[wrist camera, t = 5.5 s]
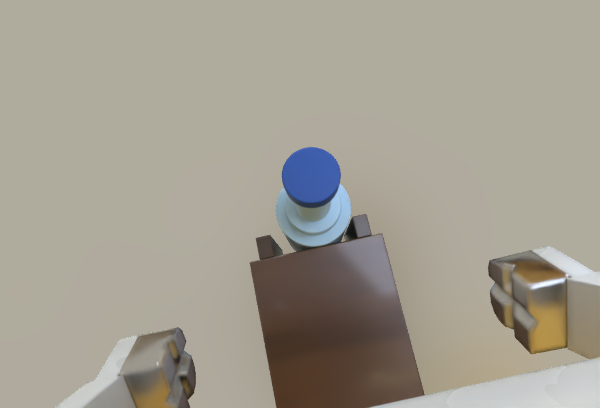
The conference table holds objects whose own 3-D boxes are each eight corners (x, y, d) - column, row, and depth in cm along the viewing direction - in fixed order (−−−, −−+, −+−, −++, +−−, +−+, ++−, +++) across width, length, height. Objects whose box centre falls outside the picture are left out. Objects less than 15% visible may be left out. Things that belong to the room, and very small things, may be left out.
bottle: (368, 223, 19) (359, 121, 20) (260, 229, 19) (257, 129, 20) (345, 256, 35) (340, 200, 36) (287, 259, 35) (284, 203, 36)
